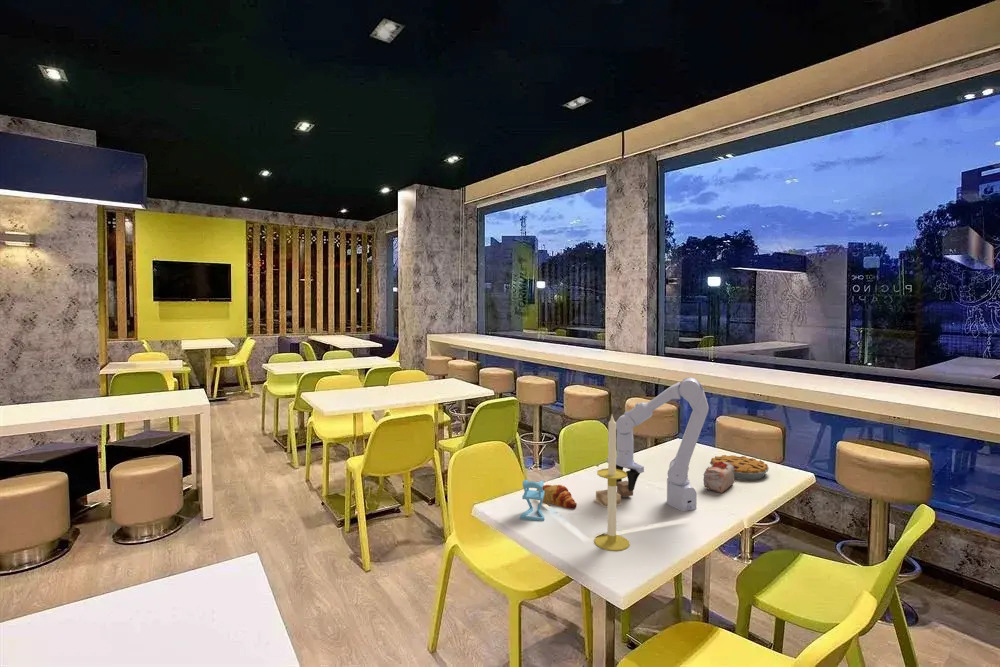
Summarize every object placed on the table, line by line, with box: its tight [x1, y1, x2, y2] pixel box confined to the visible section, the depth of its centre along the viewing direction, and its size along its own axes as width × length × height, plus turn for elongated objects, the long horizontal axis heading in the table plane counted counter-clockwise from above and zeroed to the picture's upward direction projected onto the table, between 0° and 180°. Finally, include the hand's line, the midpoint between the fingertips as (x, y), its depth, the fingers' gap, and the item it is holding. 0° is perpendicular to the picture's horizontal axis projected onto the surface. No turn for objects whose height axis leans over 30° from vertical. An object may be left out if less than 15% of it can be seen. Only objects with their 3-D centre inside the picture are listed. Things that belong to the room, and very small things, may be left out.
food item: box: [702, 461, 735, 494], centre depth 188 cm, size 14×8×10 cm, turn 138°
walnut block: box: [616, 480, 634, 498], centre depth 176 cm, size 4×4×4 cm
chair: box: [519, 479, 545, 522], centre depth 164 cm, size 8×8×12 cm
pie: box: [709, 454, 770, 481], centre depth 205 cm, size 22×22×5 cm
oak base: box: [595, 489, 622, 507], centre depth 171 cm, size 6×6×3 cm
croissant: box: [536, 484, 578, 509], centre depth 174 cm, size 21×10×8 cm, turn 32°
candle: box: [593, 415, 630, 552], centre depth 143 cm, size 10×10×38 cm
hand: (624, 487), depth 176 cm, fingers closed on walnut block, 5 cm apart
